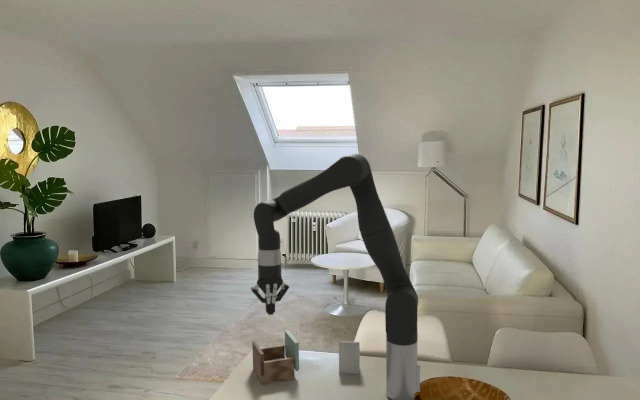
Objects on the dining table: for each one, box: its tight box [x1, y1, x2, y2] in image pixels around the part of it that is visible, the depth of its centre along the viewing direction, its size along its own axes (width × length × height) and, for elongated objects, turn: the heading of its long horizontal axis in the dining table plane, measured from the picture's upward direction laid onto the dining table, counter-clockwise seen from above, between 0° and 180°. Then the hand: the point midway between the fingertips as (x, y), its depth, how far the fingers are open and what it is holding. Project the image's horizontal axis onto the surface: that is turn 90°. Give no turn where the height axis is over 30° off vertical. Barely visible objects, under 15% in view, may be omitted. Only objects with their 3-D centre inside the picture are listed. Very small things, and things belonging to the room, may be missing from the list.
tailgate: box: [284, 329, 300, 372], centre depth 170 cm, size 1×12×10 cm, turn 21°
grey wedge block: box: [338, 340, 361, 374], centre depth 170 cm, size 4×7×10 cm, turn 84°
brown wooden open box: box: [251, 339, 296, 385], centre depth 168 cm, size 11×12×10 cm
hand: (270, 314), depth 166 cm, fingers closed
